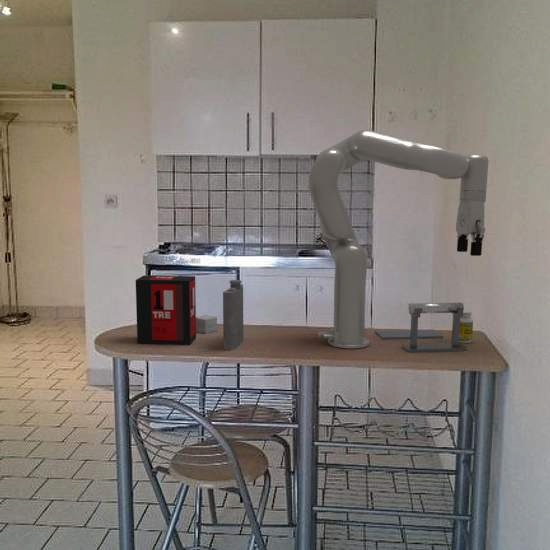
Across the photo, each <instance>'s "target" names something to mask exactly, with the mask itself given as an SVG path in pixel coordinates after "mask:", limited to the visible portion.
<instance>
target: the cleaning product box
mask: <svg viewBox="0 0 550 550" xmlns="http://www.w3.org/2000/svg"><path fill="white" fill-rule="evenodd" d="M135 301H136V302H135V304H136V305H135V306H136V307H135V308H136V333H137V334H136V335H137V338H136V339H137V343H136V344H137V345H161V346H162V345H163V346H164V345H165V346H192V344H193V342H195V340H196V339H197V332H196V317H197V316H196V315H197V312H196V311H197V310H196V309H197V305H196V304H197V303H196V276H193V275H192V276H191V275H188V276H187V275H142V276H140V277H139V278H137V279H135Z"/></svg>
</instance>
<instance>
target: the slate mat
mask: <svg viewBox="0 0 550 550" xmlns="http://www.w3.org/2000/svg"><path fill="white" fill-rule="evenodd" d="M374 333H375V334H376V335H377V336H378V337H379V338H380V339H382V340H406V339H407V340H409V339H410V334H411V329H401V330H400V329H399V330H396V329H395V330H394V329H393V330H392V329H391V330H374ZM443 338H444V335H442V334H441V333H439V332H438V331H436V330H435V329H418V332H417V339H443Z"/></svg>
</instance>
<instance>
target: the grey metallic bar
mask: <svg viewBox="0 0 550 550" xmlns="http://www.w3.org/2000/svg"><path fill="white" fill-rule="evenodd" d="M457 307H463V311H464V310H465V309H464V307H465V306H464V303H463V302H428V303H427V302H424V303H421V302H419V303H418V302H417V303H409V304H408V309H407V310H408V313H410V314H409V315H411V314H414V309H415V308H420V309H421V314H452V313H457Z"/></svg>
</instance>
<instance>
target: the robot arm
mask: <svg viewBox="0 0 550 550" xmlns="http://www.w3.org/2000/svg"><path fill="white" fill-rule="evenodd" d="M364 160H366V161H370V162H375V163H378V164H381V165H386V166H389V167H393V168H395V169H402V170H408V171H409V170H411V171H420V172H425V173H429V174H434V175H436V176H437V177H439V178H441V179H443V180H459V179H460V187H459V188H460V189H459V203H458V204H459V205H458V208H457V214H456V215H457V216H456V223H455V224H456V226H455V232H456V233H457V236H456V238H457V242H456V243H457V245H456V246H457V247H456V251H457V252H459V253H466V252H468V245H469V238H468V237H469V235H470V237H471V240H472V241H471V242H470V253H469V254H470V256H473V257H476V256H478V257H481V256H482V252H483V251H482V249H483V242H484V237H485V232H486V227H485V203H487V202H486V200H487V190H488V189H487V188H488V187H487V186H488V174H489V173H488V172H489V158H488V156H486V155H483V154H467V155H463V154H461V153H459V152H456V151H452V150H448V149H444V148H440V147H437V146H434V145H429V144H428V145H427V144H425V143H419V142H417V141H413V140H408V139H405V138H400V137H397V136H392V135H389V134H385V133H382V132H379V131H378V132H377V131H374V130H370V129H362V130H358V131H357V132H355V133H354V134H352V135H351V136H349V137H346V138H345V139H344V140H341V141H340V142H337V143H335V144H334V145H332V146H330V147H329V148H327V149H324V150H323V151H321V152H320V153H319V154H317V157H316V160H315V161H314V163H313V164H312V166H311V169H310V171H309V175H308V191H309V195H310V198H311V200H312V204H313V206H314V209H315V212H316V213H317V217H318V219H319V220H318V221H319V222H318V223H319V228H320V232H321V234H322V237H323V238H324V242H325V245H326V247H327V249H328V250H329V253H330V254H329V255H331V259H332V261H333V262H334V267H335V268H334V281H333V284H334V285H333V327H330V329H329V330H327V331H325V330H320V331H318V333H317V336H318V338H323V339H328V340H327V341H328V344H329V345H330V346H332V347H334V348H339V349H349V350H351V349H353V350H354V349H362V348H365V347H368V346H369V345H370V340H369V339H368V338H366V337H365V327H366V325H365V323H366V322H365V321H366V319H365V318H366V289H367V288H366V286H367V285H366V284H367V271H368V256H367V252H366V249H365V248H364V247H363V246H362V245H361V244H359V243H360V242H359V241H358V239H357V236H356V234H355V232H354V229H353V220H352V217H351V216H350V215H349V212H348V210H347V207H346V205H345V203H344V200H343V197H342V195H341V192H340V190H339V186H338V185H339V184H338V181H339V177H340V175H341V174H342V173H343V172H345V171H346V170H349V169H350V168H352V167H353V166H356V165H358V164H359V163H361V162H362V161H364Z"/></svg>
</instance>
